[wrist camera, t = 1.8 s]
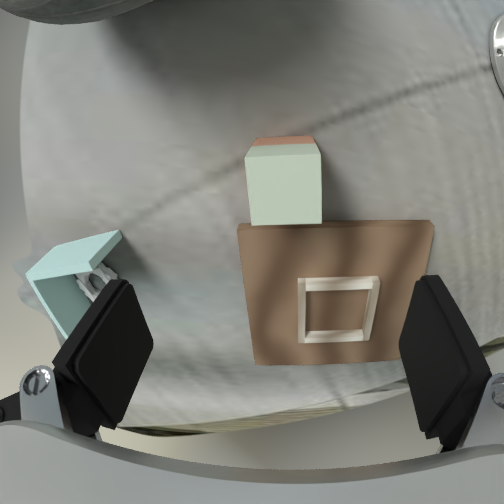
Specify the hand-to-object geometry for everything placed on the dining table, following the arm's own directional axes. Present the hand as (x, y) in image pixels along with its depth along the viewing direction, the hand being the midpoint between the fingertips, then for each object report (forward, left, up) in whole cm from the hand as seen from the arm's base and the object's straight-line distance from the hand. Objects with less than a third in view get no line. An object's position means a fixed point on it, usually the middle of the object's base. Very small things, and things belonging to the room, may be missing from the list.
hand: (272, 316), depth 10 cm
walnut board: (-5, +16, -21) cm, 27 cm away
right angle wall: (+24, +13, -21) cm, 35 cm away
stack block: (0, 0, -21) cm, 21 cm away
